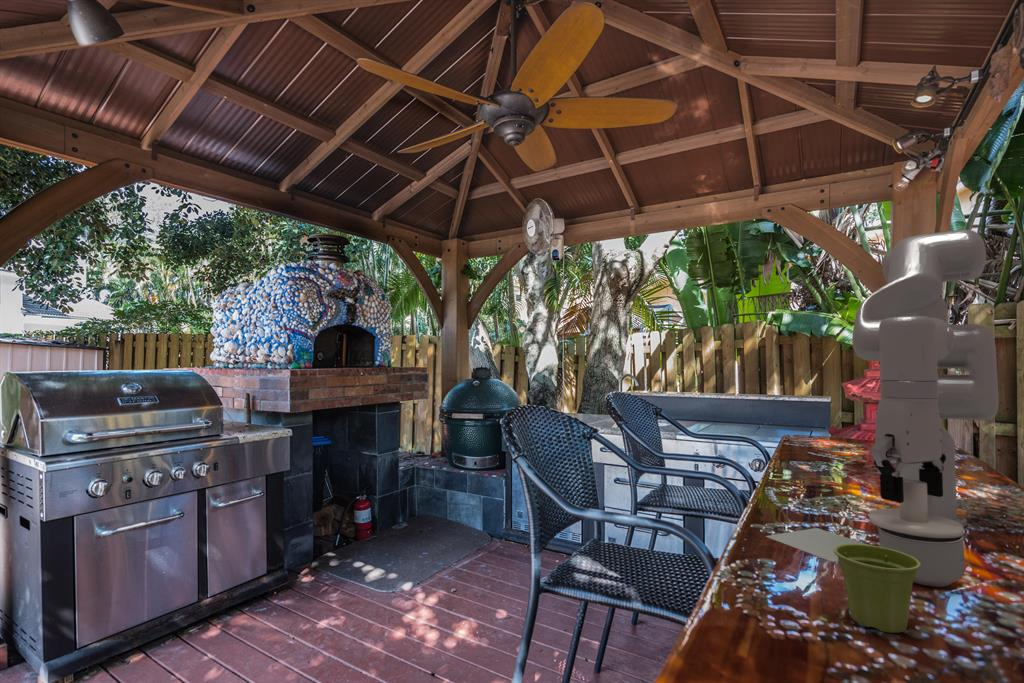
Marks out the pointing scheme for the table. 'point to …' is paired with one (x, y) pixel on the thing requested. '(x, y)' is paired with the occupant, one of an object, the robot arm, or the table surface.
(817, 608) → the table surface
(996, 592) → the table surface
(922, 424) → the robot arm
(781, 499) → the table surface
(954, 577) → the teacup
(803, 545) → the mat
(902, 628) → the plant pot
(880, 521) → the lid
